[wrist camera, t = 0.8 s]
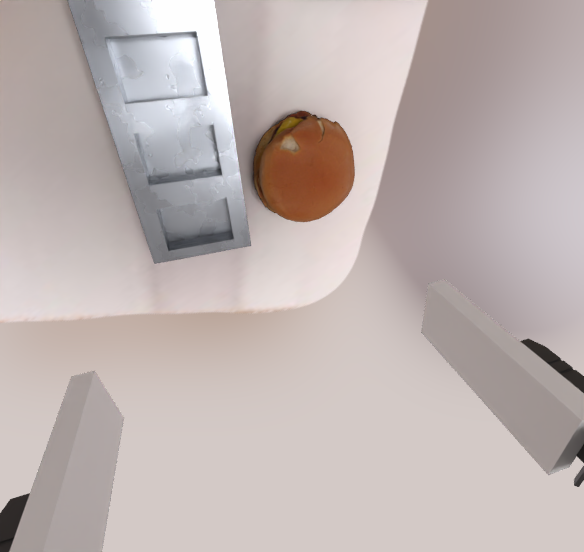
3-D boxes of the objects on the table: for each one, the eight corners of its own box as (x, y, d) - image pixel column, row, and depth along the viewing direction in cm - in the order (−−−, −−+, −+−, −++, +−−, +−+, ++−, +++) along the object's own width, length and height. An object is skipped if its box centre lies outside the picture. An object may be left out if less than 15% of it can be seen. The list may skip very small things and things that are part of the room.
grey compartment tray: (49, -93, 21) (28, -119, 18) (194, -92, 23) (196, -116, 20) (156, 247, 34) (154, 263, 31) (245, 231, 36) (251, 245, 33)
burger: (308, 227, 38) (322, 244, 34) (234, 185, 33) (240, 200, 29) (361, 146, 35) (383, 155, 31) (287, 89, 30) (302, 92, 27)
